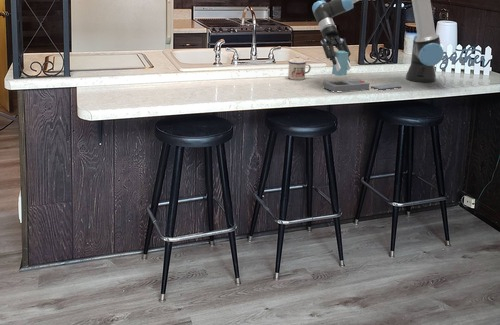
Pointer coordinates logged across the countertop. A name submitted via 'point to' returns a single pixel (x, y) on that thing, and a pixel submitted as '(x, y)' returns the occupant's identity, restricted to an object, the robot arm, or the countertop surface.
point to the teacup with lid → (297, 68)
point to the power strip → (346, 85)
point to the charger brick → (341, 63)
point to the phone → (385, 87)
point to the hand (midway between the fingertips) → (344, 69)
